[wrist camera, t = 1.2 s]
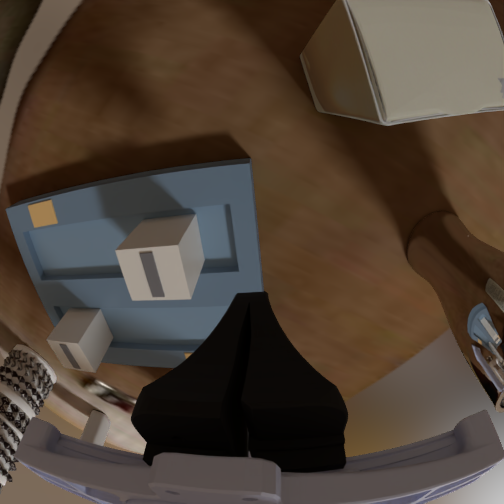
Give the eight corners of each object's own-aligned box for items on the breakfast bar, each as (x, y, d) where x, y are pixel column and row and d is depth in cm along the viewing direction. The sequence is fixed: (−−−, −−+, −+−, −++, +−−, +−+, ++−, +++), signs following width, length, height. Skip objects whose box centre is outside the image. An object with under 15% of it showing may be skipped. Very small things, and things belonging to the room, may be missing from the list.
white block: (113, 337, 26) (95, 373, 22) (83, 335, 26) (63, 368, 22) (100, 308, 24) (77, 344, 20) (69, 307, 25) (45, 340, 20)
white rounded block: (85, 414, 38) (62, 470, 27) (95, 407, 36) (70, 469, 25) (106, 427, 39) (87, 483, 29) (118, 421, 37) (97, 483, 27)
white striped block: (204, 259, 22) (190, 300, 17) (154, 263, 22) (131, 301, 18) (196, 213, 20) (177, 245, 16) (143, 219, 20) (114, 251, 16)
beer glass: (460, 271, 23) (547, 388, 9) (398, 284, 23) (474, 430, 10) (470, 201, 20) (594, 304, 6) (403, 209, 20) (529, 345, 7)
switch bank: (269, 352, 27) (269, 368, 26) (80, 346, 29) (72, 359, 27) (250, 158, 19) (249, 163, 17) (18, 201, 21) (4, 209, 19)
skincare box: (380, 41, 15) (496, -2, 4) (398, 98, 17) (526, 111, 6) (292, 55, 16) (335, -15, 5) (312, 115, 18) (384, 129, 7)
